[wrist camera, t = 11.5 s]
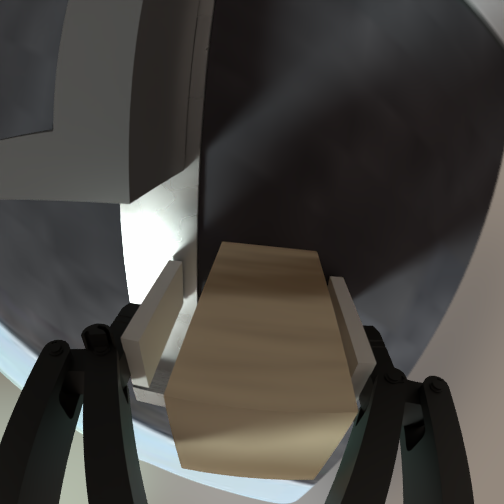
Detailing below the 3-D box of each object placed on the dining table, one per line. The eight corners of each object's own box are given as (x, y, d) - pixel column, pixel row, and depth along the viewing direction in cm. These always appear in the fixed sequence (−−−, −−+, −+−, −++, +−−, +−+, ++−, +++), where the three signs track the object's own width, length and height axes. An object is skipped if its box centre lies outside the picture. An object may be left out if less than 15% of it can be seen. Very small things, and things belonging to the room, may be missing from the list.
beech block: (222, 241, 16) (163, 395, 7) (316, 251, 16) (358, 411, 7) (219, 317, 18) (181, 468, 9) (301, 325, 18) (313, 479, 9)
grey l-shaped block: (79, -57, 7) (26, -86, 2) (216, -88, 7) (193, -148, 2) (46, 169, 14) (-27, 199, 9) (184, 170, 14) (129, 204, 8)
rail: (166, -105, 6) (154, -123, 4) (236, -113, 6) (232, -134, 4) (146, 376, 21) (136, 400, 19) (200, 387, 21) (194, 412, 19)
